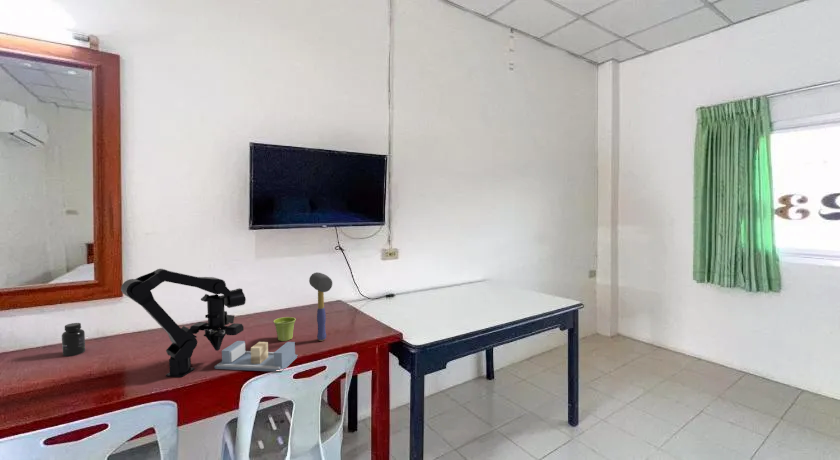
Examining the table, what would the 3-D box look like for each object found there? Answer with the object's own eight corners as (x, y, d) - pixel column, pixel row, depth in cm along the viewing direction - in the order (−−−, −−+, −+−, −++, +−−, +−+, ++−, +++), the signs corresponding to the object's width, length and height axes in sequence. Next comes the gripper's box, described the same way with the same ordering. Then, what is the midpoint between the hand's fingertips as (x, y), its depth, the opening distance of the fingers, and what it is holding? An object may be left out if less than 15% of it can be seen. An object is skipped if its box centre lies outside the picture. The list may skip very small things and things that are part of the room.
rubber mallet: (309, 337, 169) (307, 272, 167) (325, 334, 173) (324, 270, 171) (318, 346, 158) (316, 276, 156) (334, 342, 163) (333, 274, 160)
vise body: (282, 371, 135) (281, 354, 134) (214, 368, 137) (213, 351, 137) (297, 357, 148) (297, 341, 147) (235, 354, 150) (235, 338, 150)
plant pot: (274, 336, 170) (273, 318, 169) (295, 334, 173) (295, 315, 173) (273, 344, 161) (273, 324, 161) (296, 341, 165) (296, 321, 164)
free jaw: (231, 364, 138) (230, 351, 138) (222, 363, 139) (221, 350, 138) (246, 353, 148) (245, 341, 148) (238, 352, 148) (237, 340, 148)
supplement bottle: (58, 357, 147) (56, 328, 146) (69, 351, 154) (67, 322, 153) (79, 355, 149) (77, 326, 148) (89, 349, 156) (87, 321, 155)
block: (260, 363, 139) (259, 348, 139) (251, 363, 140) (250, 347, 139) (268, 357, 145) (267, 342, 145) (259, 356, 145) (259, 341, 145)
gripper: (250, 305, 150) (252, 343, 151) (207, 304, 152) (208, 341, 153) (234, 313, 139) (235, 354, 140) (187, 312, 141) (189, 352, 142)
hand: (217, 350), depth 144 cm, fingers closed
